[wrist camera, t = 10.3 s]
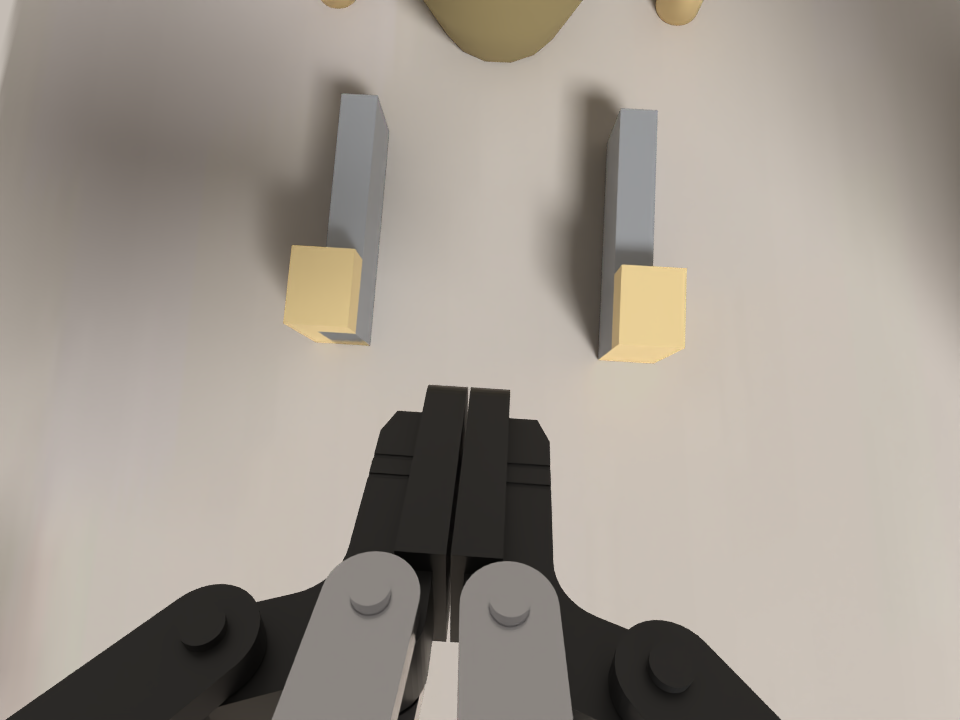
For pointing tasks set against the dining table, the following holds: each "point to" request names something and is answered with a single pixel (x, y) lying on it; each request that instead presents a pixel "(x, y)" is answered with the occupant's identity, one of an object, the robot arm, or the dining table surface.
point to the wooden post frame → (626, 238)
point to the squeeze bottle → (502, 25)
